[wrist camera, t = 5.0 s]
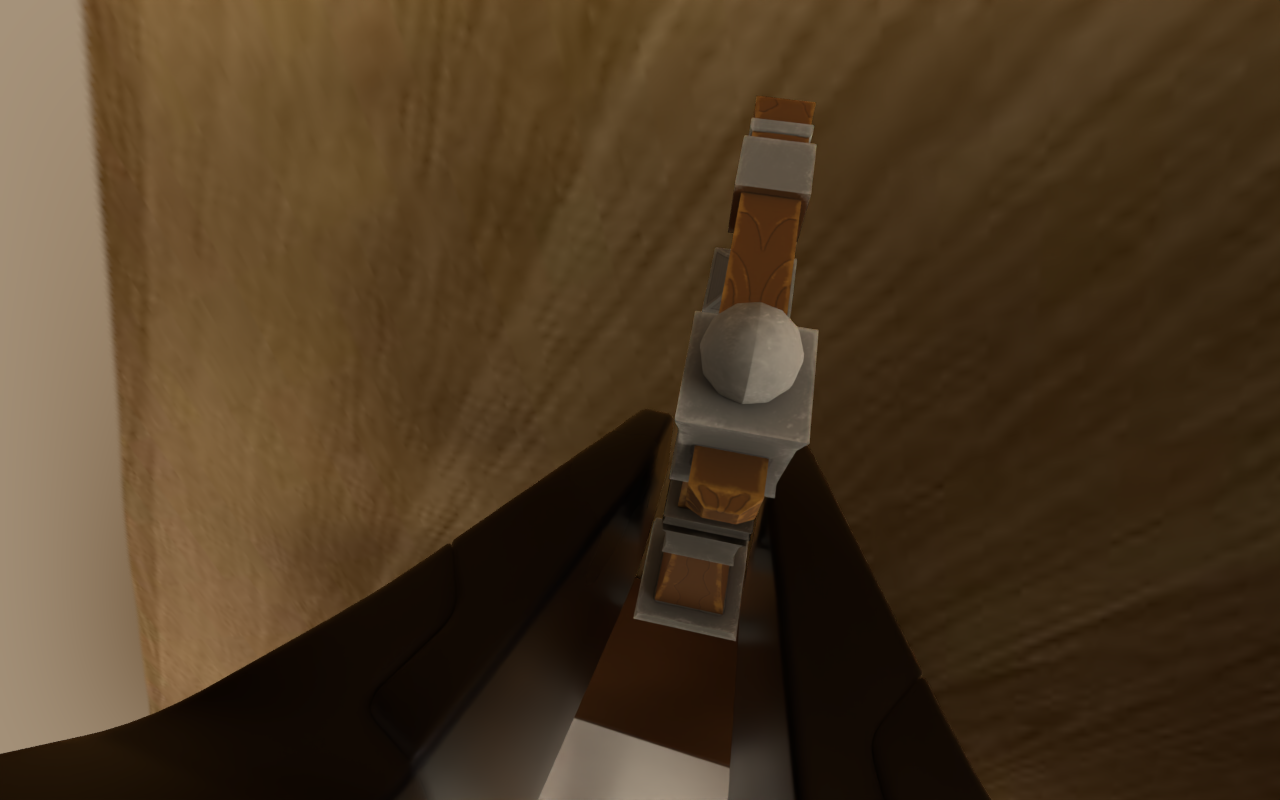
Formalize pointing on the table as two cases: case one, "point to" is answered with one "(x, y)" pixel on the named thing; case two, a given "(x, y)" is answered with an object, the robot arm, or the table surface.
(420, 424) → the table surface
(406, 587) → the robot arm
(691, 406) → the grey orange jointed piece
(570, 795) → the walnut block
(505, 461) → the table surface
